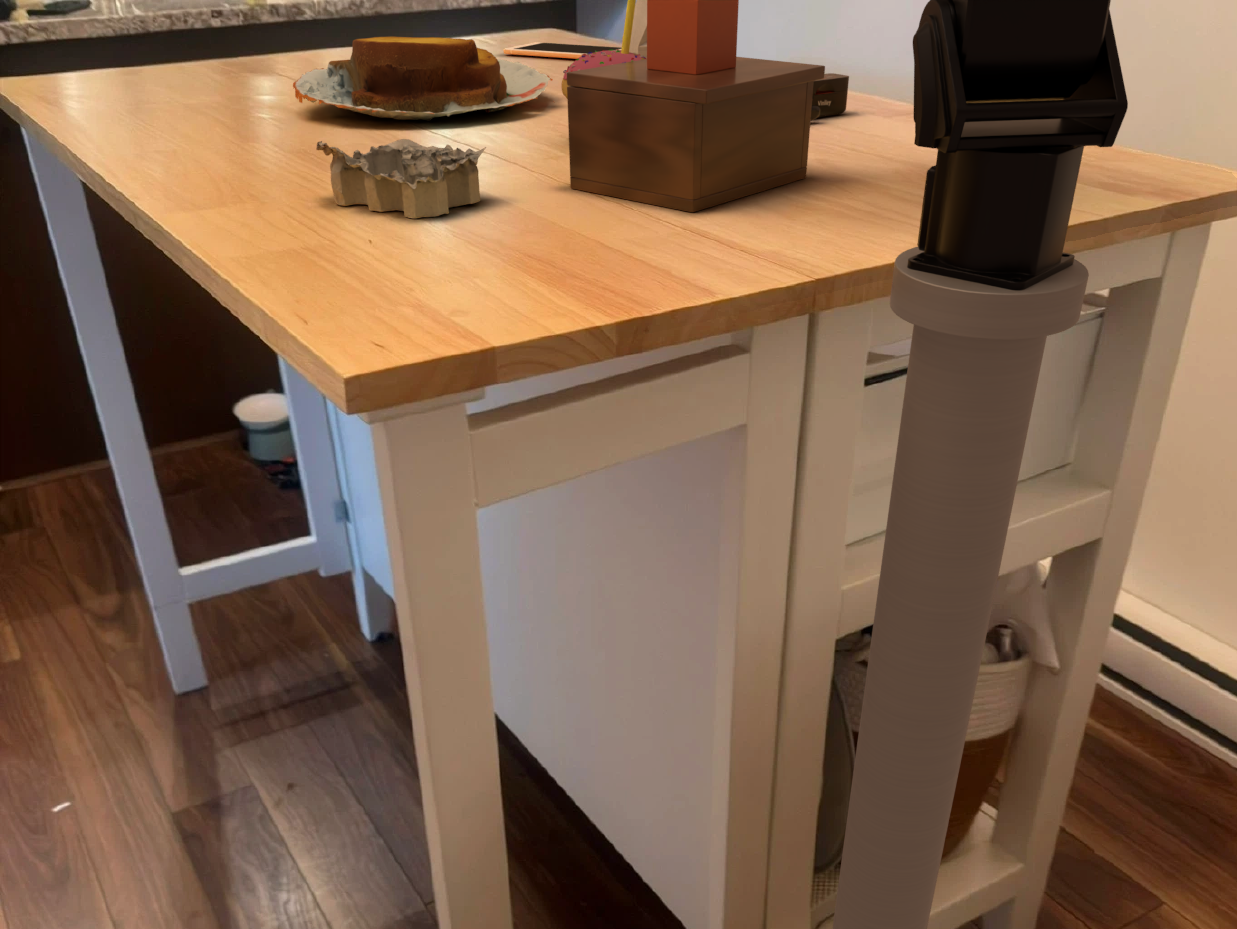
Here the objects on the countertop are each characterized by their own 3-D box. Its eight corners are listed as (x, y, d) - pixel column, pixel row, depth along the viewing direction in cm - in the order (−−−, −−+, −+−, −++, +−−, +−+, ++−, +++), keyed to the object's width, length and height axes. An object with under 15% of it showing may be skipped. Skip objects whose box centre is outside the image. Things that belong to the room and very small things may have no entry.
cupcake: (667, 133, 101) (668, -24, 95) (657, 152, 94) (657, -15, 88) (571, 132, 102) (566, -23, 96) (554, 151, 95) (547, -15, 89)
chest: (806, 178, 86) (814, 77, 82) (692, 212, 78) (695, 103, 74) (686, 158, 92) (688, 64, 89) (570, 188, 84) (566, 86, 80)
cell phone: (608, 61, 139) (608, 55, 139) (502, 54, 146) (501, 48, 146) (641, 54, 144) (641, 48, 144) (536, 47, 151) (536, 41, 151)
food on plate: (551, 84, 125) (549, 16, 122) (556, 127, 105) (553, 46, 101) (317, 89, 124) (307, 20, 120) (275, 133, 104) (262, 52, 100)
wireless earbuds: (771, 118, 107) (773, 80, 105) (828, 110, 110) (831, 72, 108) (804, 126, 103) (806, 86, 102) (862, 117, 107) (866, 78, 105)
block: (736, 67, 81) (739, -6, 78) (696, 75, 78) (698, -1, 76) (686, 62, 83) (688, -9, 81) (646, 69, 81) (646, -5, 78)
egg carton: (317, 203, 82) (307, 141, 79) (394, 183, 87) (387, 124, 84) (422, 223, 76) (415, 157, 74) (498, 201, 81) (494, 139, 79)
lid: (824, 78, 82) (825, 65, 81) (706, 104, 73) (706, 89, 73) (688, 63, 89) (688, 51, 88) (566, 85, 80) (566, 72, 80)
